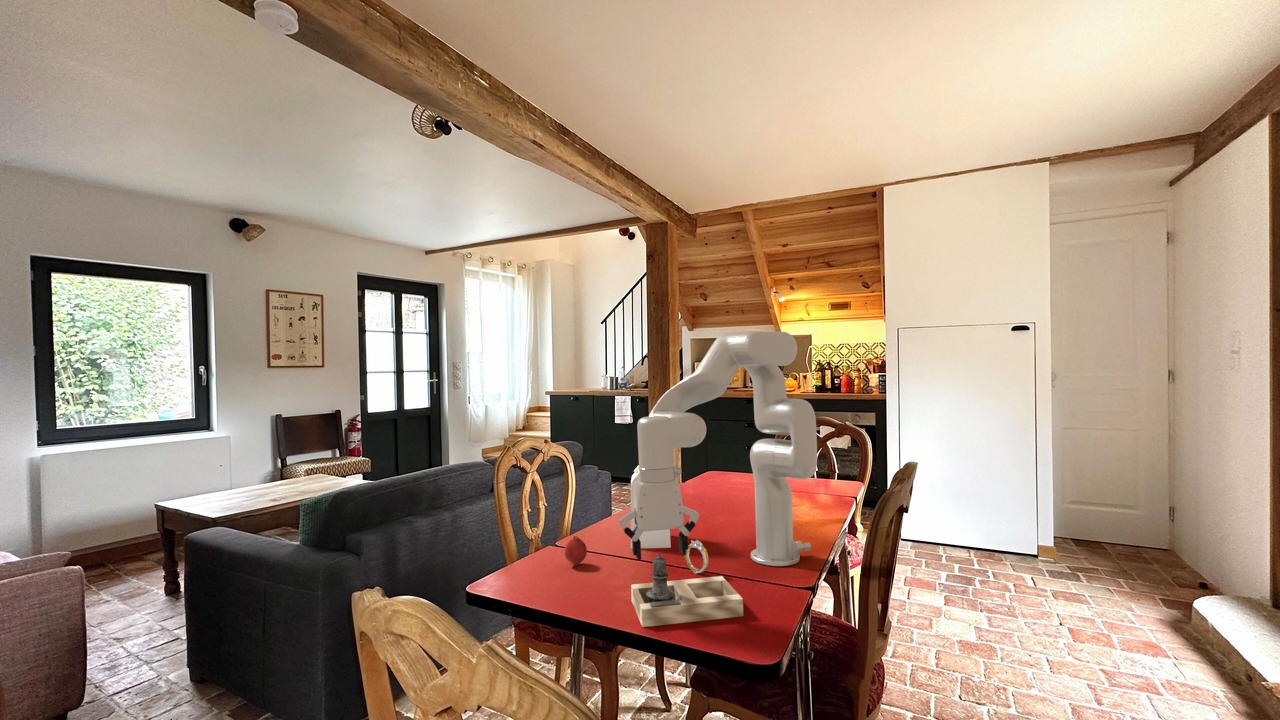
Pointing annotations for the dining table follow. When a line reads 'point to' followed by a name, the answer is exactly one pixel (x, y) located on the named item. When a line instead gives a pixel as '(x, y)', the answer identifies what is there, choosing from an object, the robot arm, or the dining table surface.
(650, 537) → the milk
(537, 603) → the dining table surface
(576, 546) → the onion
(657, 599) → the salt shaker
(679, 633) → the dining table surface
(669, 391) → the robot arm
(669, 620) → the wooden compartment tray
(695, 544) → the gemstone ring
